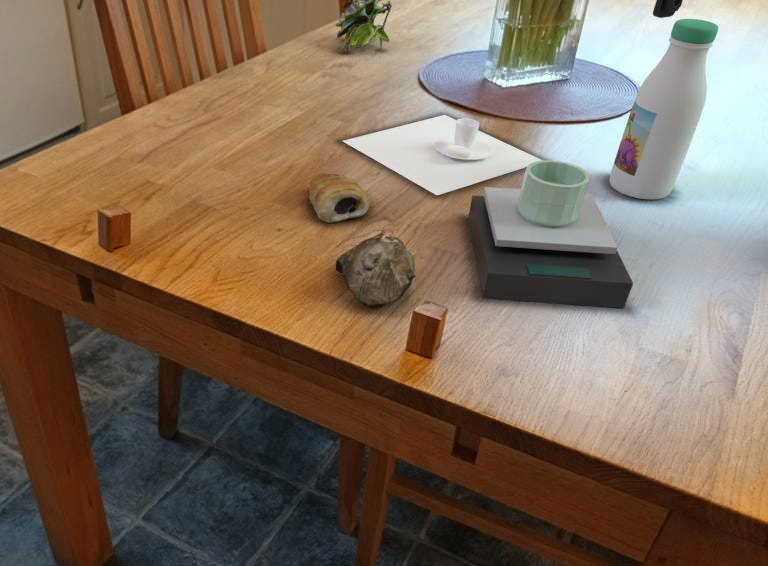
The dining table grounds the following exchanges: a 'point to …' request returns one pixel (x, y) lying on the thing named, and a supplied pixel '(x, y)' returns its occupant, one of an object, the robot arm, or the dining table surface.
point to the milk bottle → (665, 115)
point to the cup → (552, 193)
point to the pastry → (337, 197)
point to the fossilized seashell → (377, 270)
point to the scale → (545, 255)
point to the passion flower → (362, 23)
